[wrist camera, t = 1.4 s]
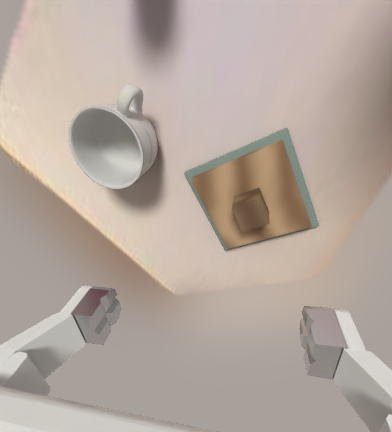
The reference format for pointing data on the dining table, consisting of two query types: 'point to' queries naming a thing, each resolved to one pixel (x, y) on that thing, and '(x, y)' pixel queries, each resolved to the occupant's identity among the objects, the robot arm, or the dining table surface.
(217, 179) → the cover
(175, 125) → the dining table surface
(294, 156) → the mat
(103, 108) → the teacup
